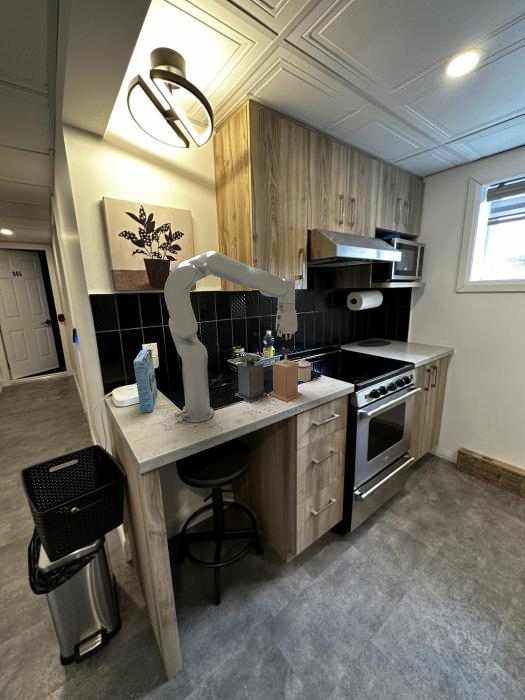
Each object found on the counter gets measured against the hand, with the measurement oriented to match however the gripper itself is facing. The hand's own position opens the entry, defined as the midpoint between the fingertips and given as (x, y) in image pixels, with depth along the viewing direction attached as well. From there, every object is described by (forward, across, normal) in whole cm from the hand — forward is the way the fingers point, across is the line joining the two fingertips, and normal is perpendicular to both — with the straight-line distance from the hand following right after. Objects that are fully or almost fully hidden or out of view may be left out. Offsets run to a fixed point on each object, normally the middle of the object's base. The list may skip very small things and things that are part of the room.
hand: (286, 347), depth 124 cm
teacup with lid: (+24, +23, +9) cm, 34 cm away
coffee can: (+24, -1, +24) cm, 34 cm away
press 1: (+24, -12, +11) cm, 29 cm away
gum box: (+23, -50, +38) cm, 67 cm away
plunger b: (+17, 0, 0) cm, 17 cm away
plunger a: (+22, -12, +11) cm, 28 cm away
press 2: (+24, 0, 0) cm, 24 cm away
